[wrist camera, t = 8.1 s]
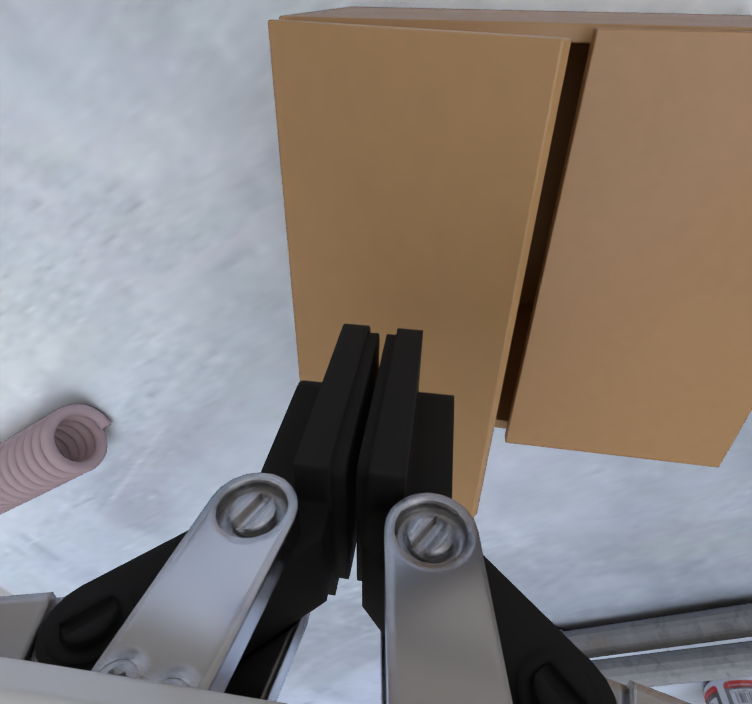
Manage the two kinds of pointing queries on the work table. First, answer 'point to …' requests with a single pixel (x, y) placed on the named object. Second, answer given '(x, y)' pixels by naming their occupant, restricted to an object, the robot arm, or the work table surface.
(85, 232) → the work table surface
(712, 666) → the grey double pipe
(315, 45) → the flap
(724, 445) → the box
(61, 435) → the coil
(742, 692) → the pill bottle
